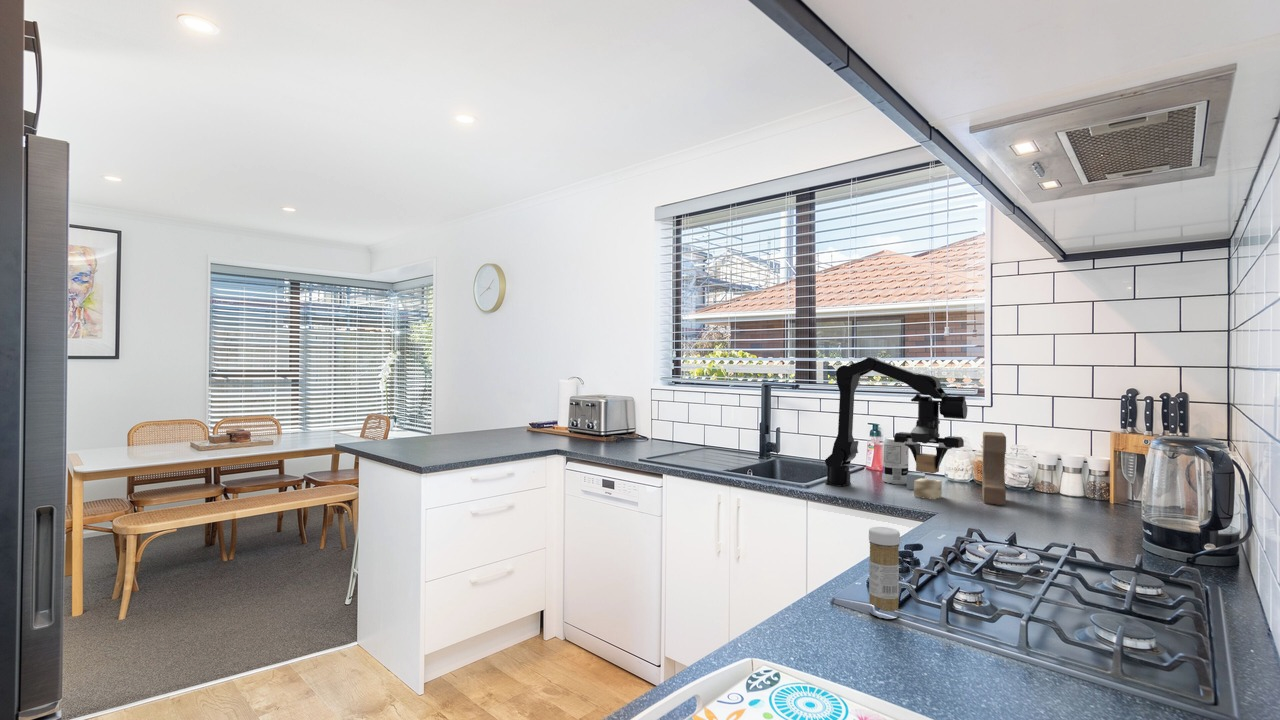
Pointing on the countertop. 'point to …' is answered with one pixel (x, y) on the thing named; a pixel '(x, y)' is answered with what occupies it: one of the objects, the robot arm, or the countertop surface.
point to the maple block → (927, 488)
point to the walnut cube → (926, 463)
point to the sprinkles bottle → (884, 568)
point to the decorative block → (994, 468)
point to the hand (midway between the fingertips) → (927, 468)
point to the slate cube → (913, 478)
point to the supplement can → (895, 461)
